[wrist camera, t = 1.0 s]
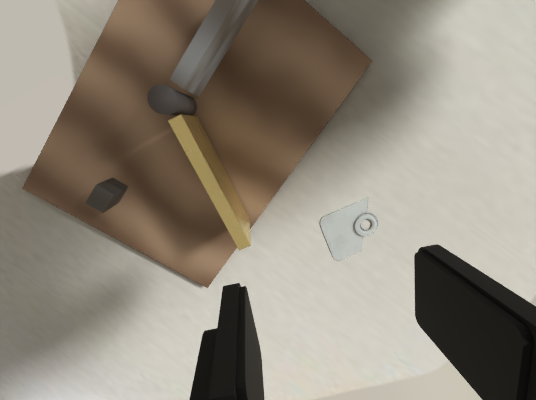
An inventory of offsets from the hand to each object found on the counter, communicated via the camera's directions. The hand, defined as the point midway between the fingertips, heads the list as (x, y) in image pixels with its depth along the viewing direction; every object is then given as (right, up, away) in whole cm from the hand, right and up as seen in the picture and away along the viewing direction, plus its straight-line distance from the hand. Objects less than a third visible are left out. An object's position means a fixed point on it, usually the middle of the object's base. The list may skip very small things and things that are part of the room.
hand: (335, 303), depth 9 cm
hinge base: (-9, +11, +17) cm, 22 cm away
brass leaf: (-7, +6, +17) cm, 19 cm away
